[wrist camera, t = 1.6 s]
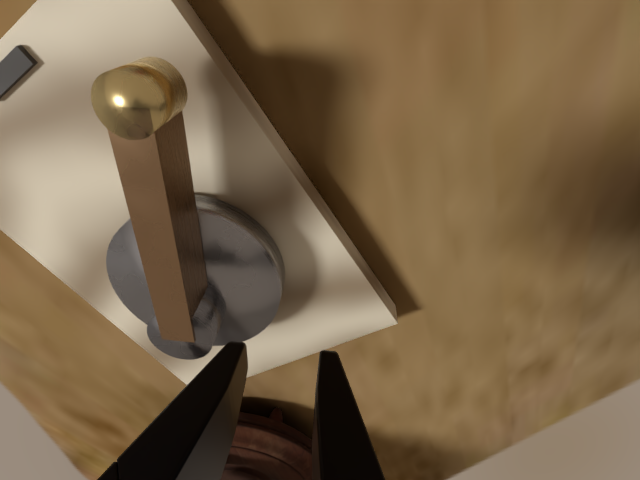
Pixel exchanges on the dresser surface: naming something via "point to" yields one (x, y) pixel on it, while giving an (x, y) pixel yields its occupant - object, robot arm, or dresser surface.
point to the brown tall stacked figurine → (268, 450)
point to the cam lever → (179, 225)
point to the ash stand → (206, 167)
